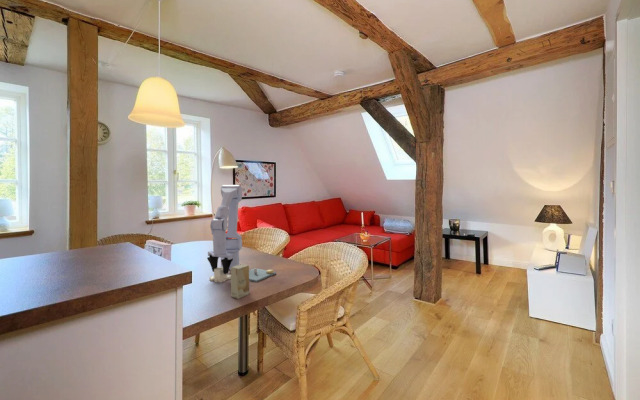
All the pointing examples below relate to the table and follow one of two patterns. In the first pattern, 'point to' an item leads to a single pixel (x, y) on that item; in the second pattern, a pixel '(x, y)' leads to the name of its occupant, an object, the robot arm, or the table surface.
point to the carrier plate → (259, 274)
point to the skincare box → (239, 281)
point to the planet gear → (219, 275)
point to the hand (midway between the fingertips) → (220, 272)
